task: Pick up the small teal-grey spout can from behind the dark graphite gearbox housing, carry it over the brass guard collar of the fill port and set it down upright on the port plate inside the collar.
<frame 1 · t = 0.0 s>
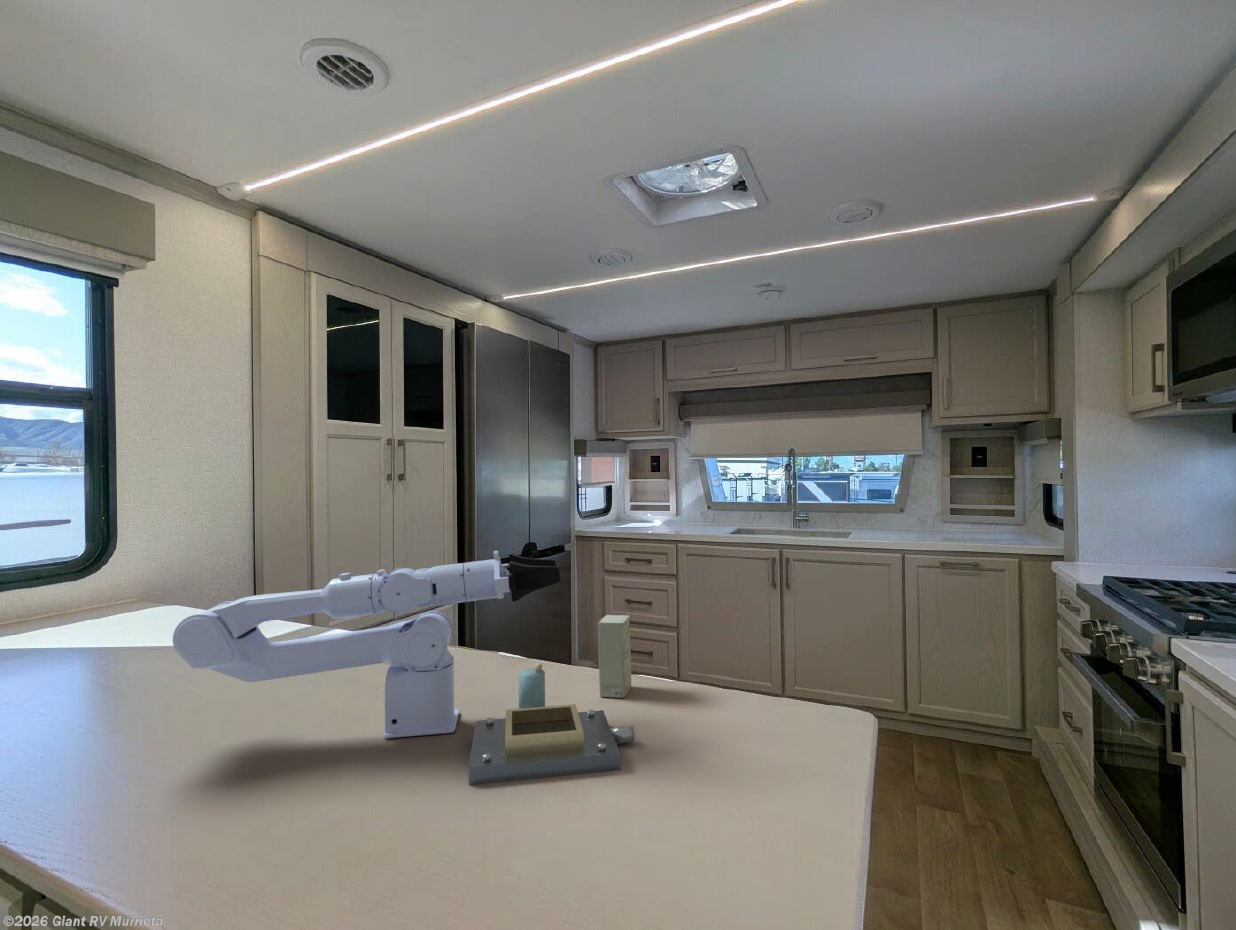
hand: (557, 570, 92), 22 cm above the counter, tool horizontal, fingers open, 7 cm apart
spout can: (532, 711, 93), on the counter
gearbox housing: (543, 751, 79), on the counter
skincare box: (615, 692, 101), on the counter
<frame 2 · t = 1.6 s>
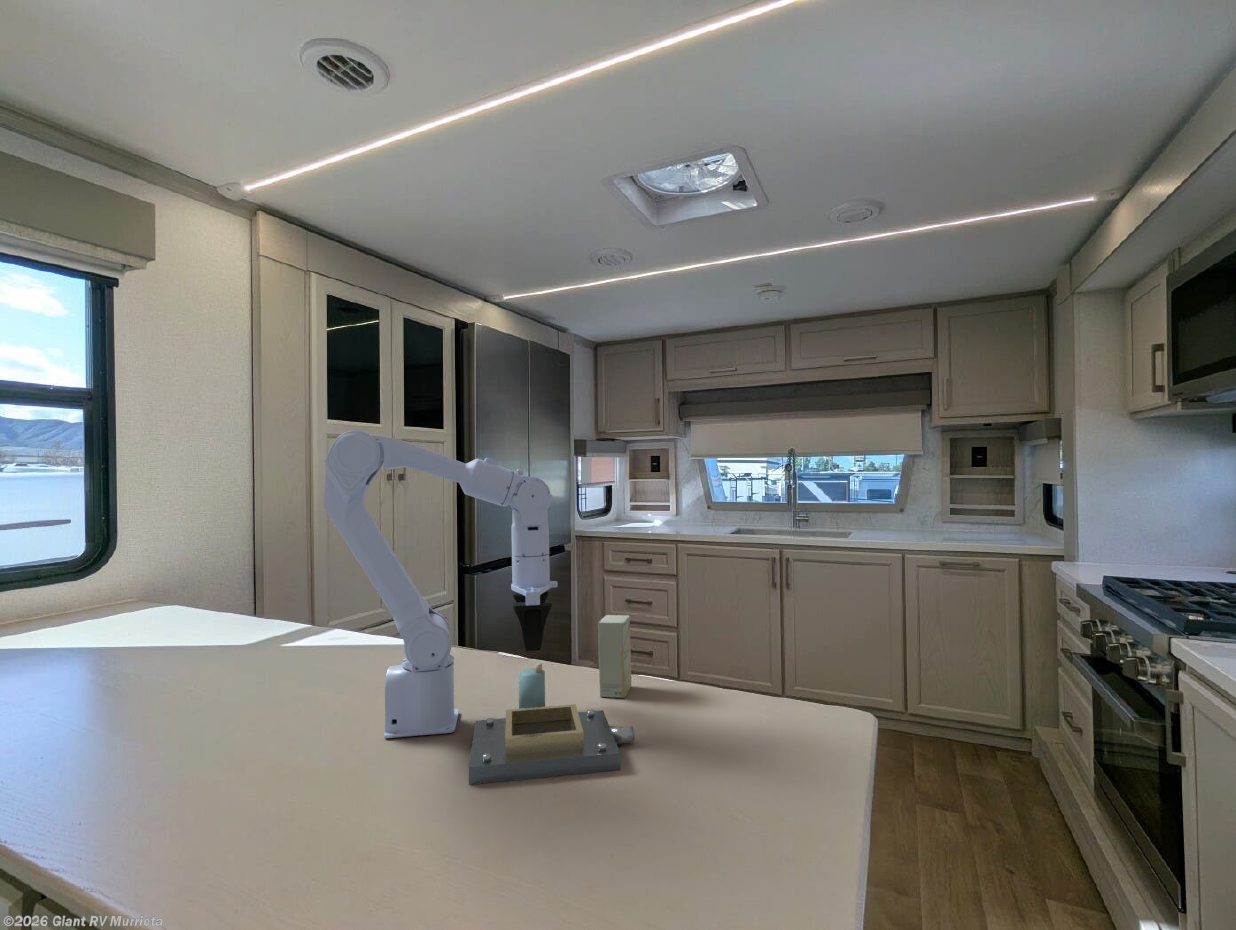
hand: (532, 643, 93), 10 cm above the counter, tool pointing down, fingers open, 7 cm apart
nothing on the counter moved.
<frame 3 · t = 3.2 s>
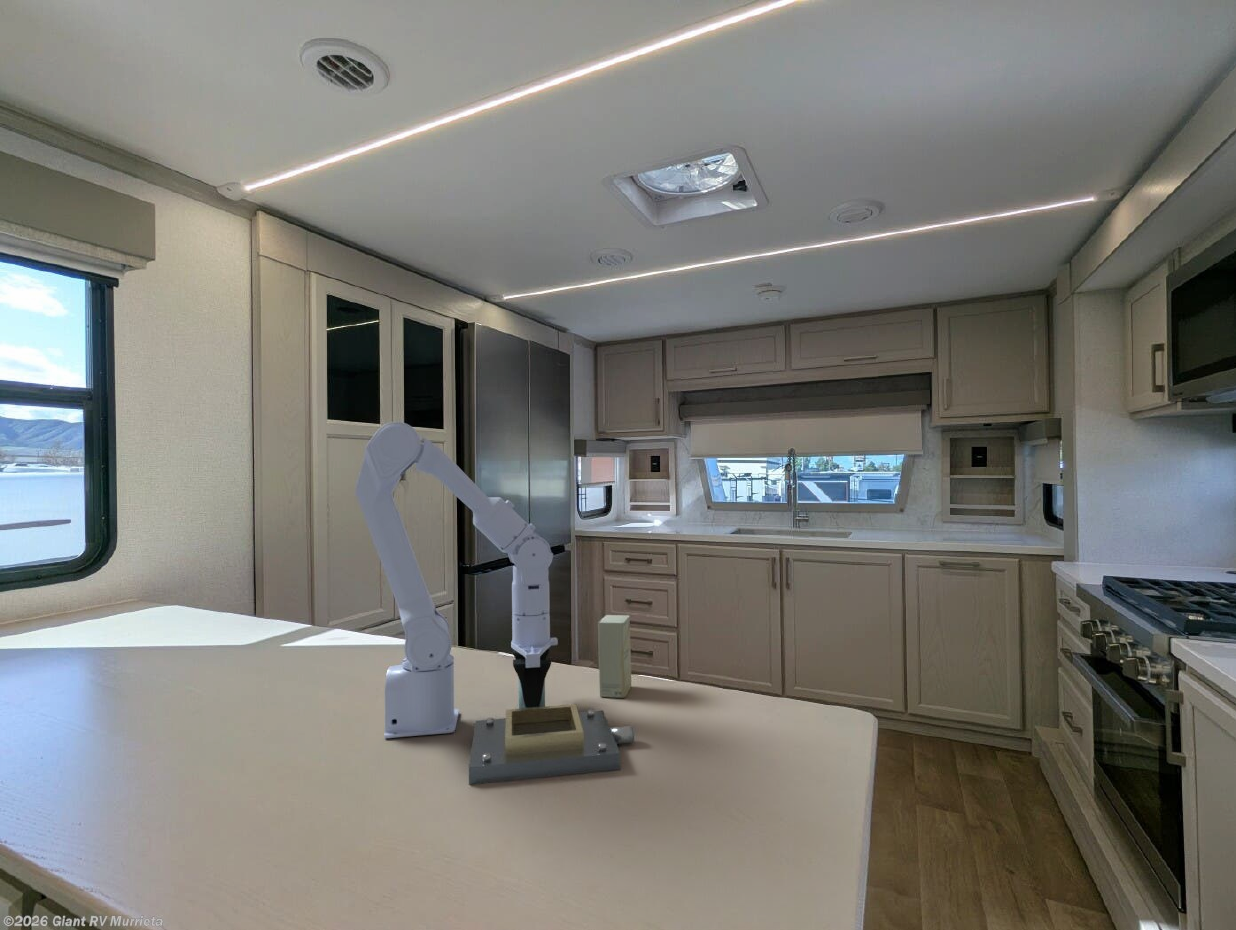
hand: (532, 701, 93), 2 cm above the counter, tool pointing down, fingers closed on spout can, 4 cm apart
spout can: (532, 711, 93), on the counter, touching gripper
everything else where it was.
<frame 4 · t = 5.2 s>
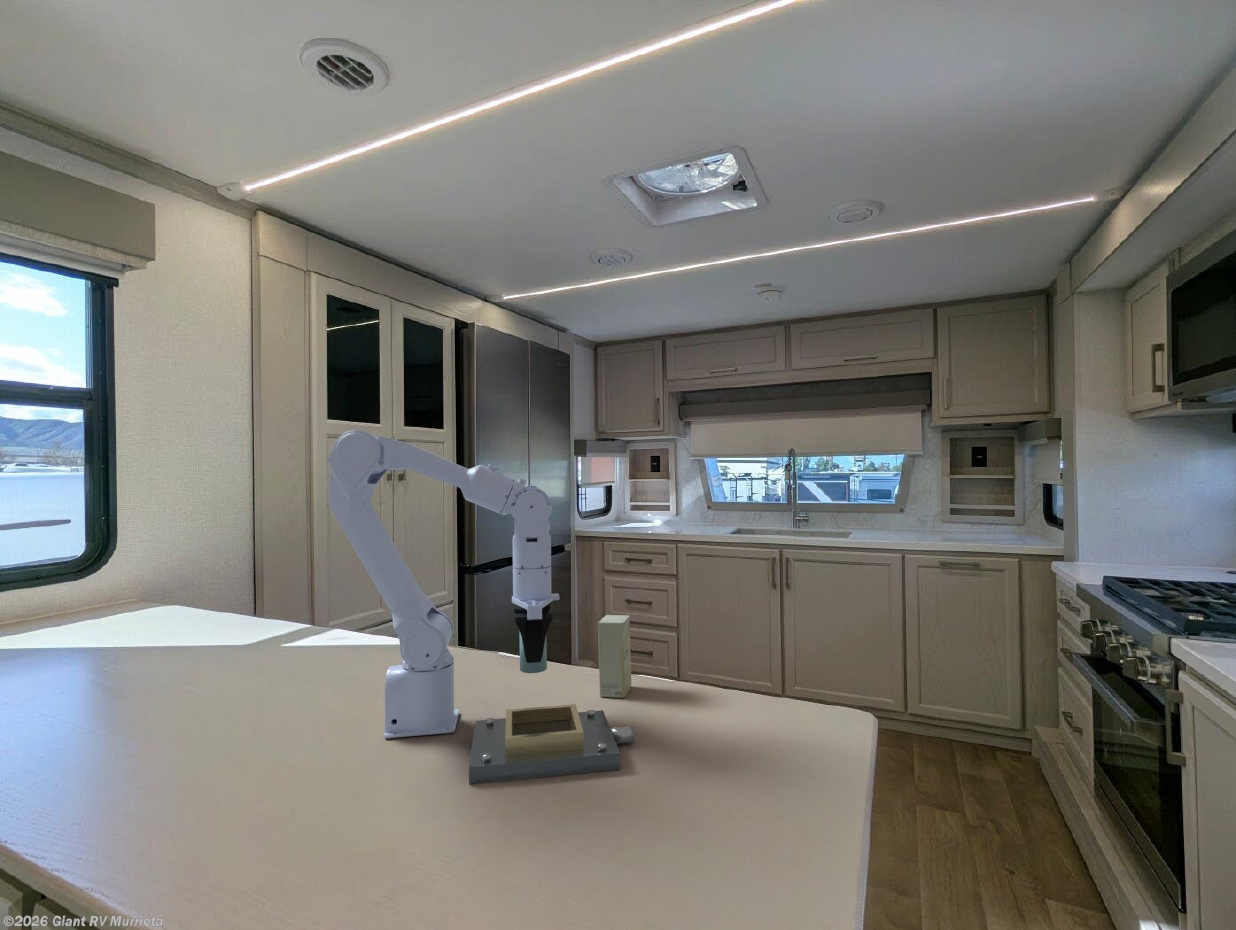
hand: (533, 657, 91), 9 cm above the counter, tool pointing down, fingers closed on spout can, 4 cm apart
spout can: (533, 668, 91), point 7 cm above the counter, touching gripper
everything else where it was.
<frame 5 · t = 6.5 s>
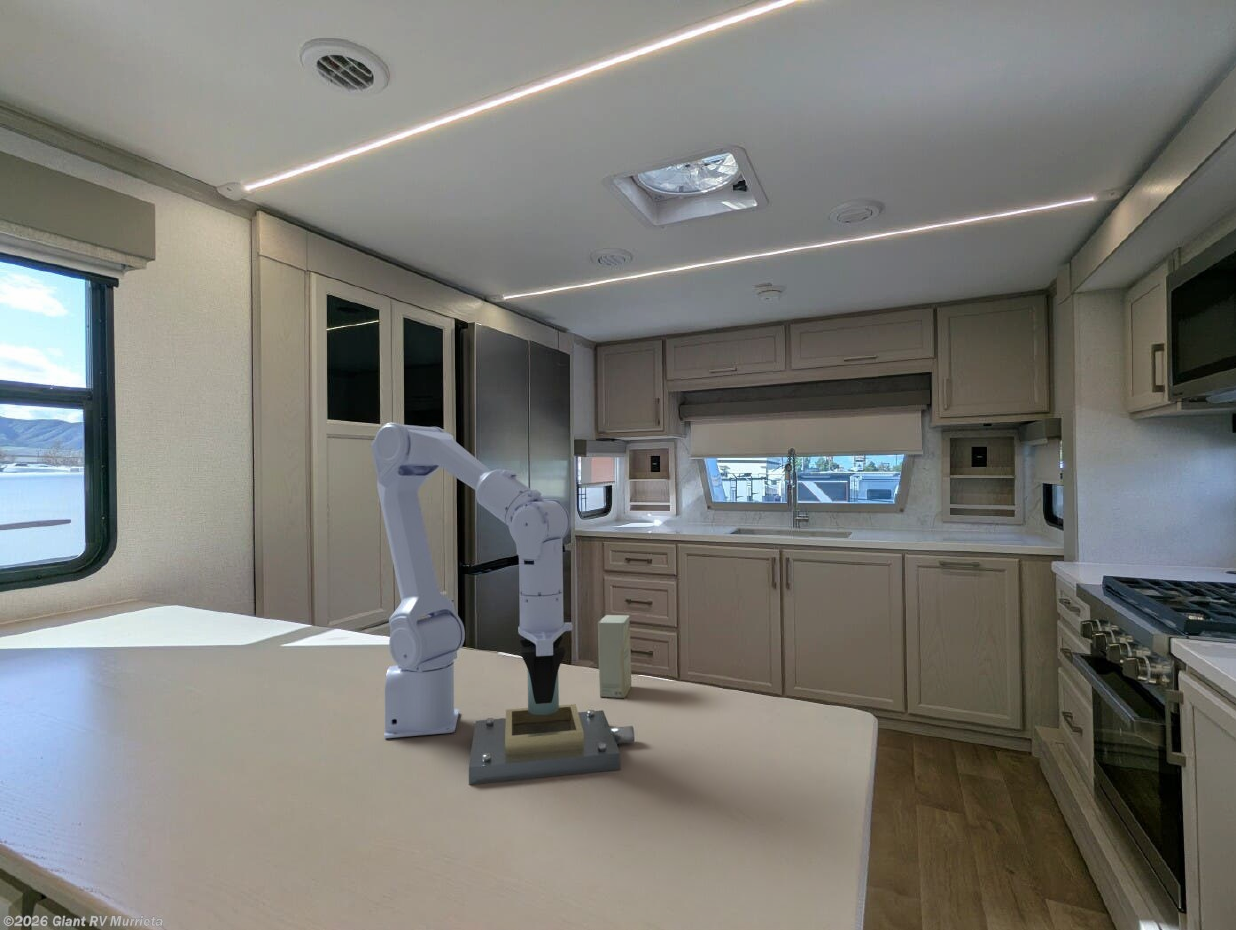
hand: (542, 696, 80), 7 cm above the counter, tool pointing down, fingers closed on spout can, 4 cm apart
spout can: (543, 709, 80), point 5 cm above the counter, touching gripper
everything else where it was.
when the fingers open (5 cm above the counter, at t = 7.3 s): spout can drops 1 cm, resting on gearbox housing.
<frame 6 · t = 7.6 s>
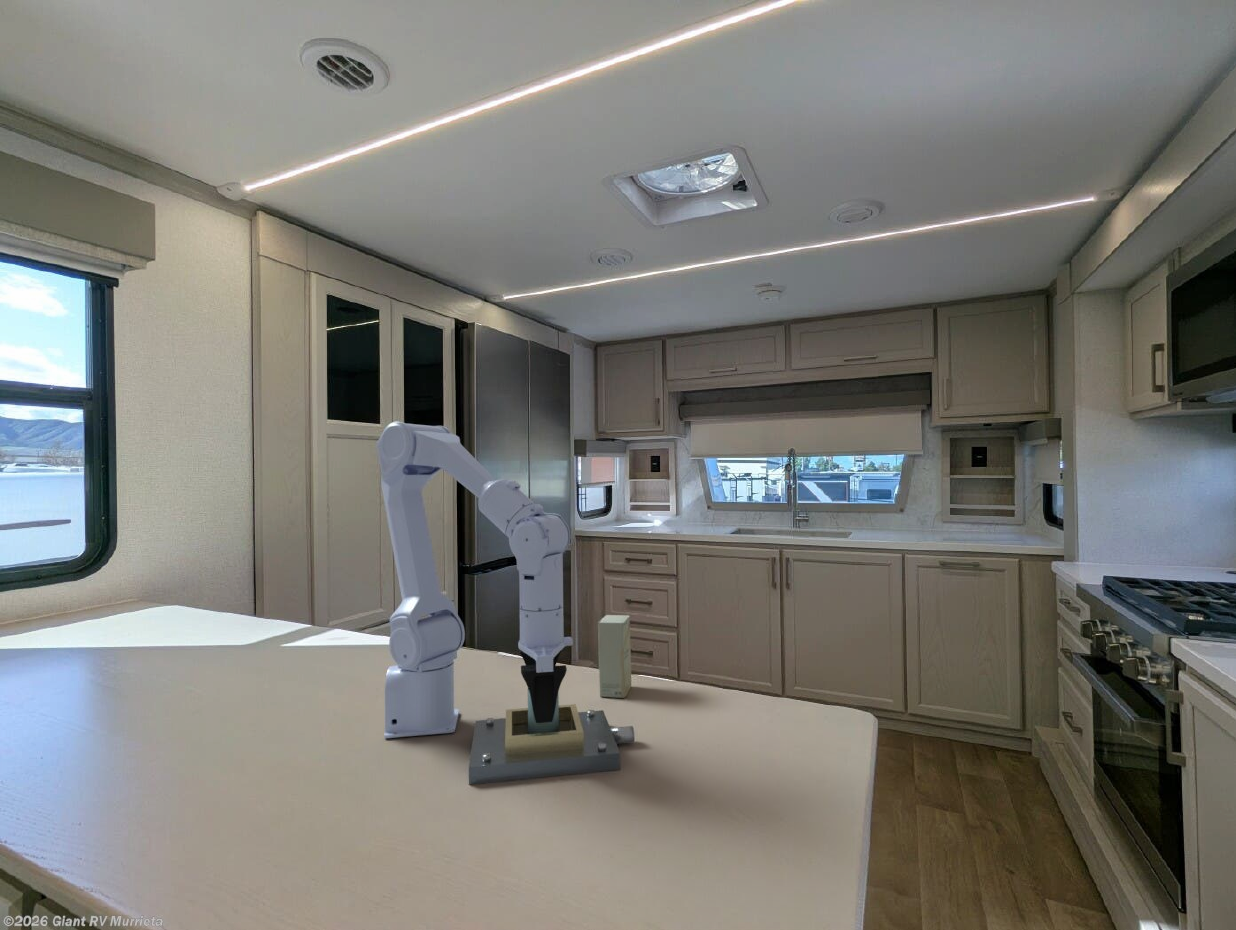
hand: (542, 711, 79), 5 cm above the counter, tool pointing down, fingers open, 6 cm apart
spout can: (543, 734, 79), point 2 cm above the counter, touching gearbox housing
everything else where it was.
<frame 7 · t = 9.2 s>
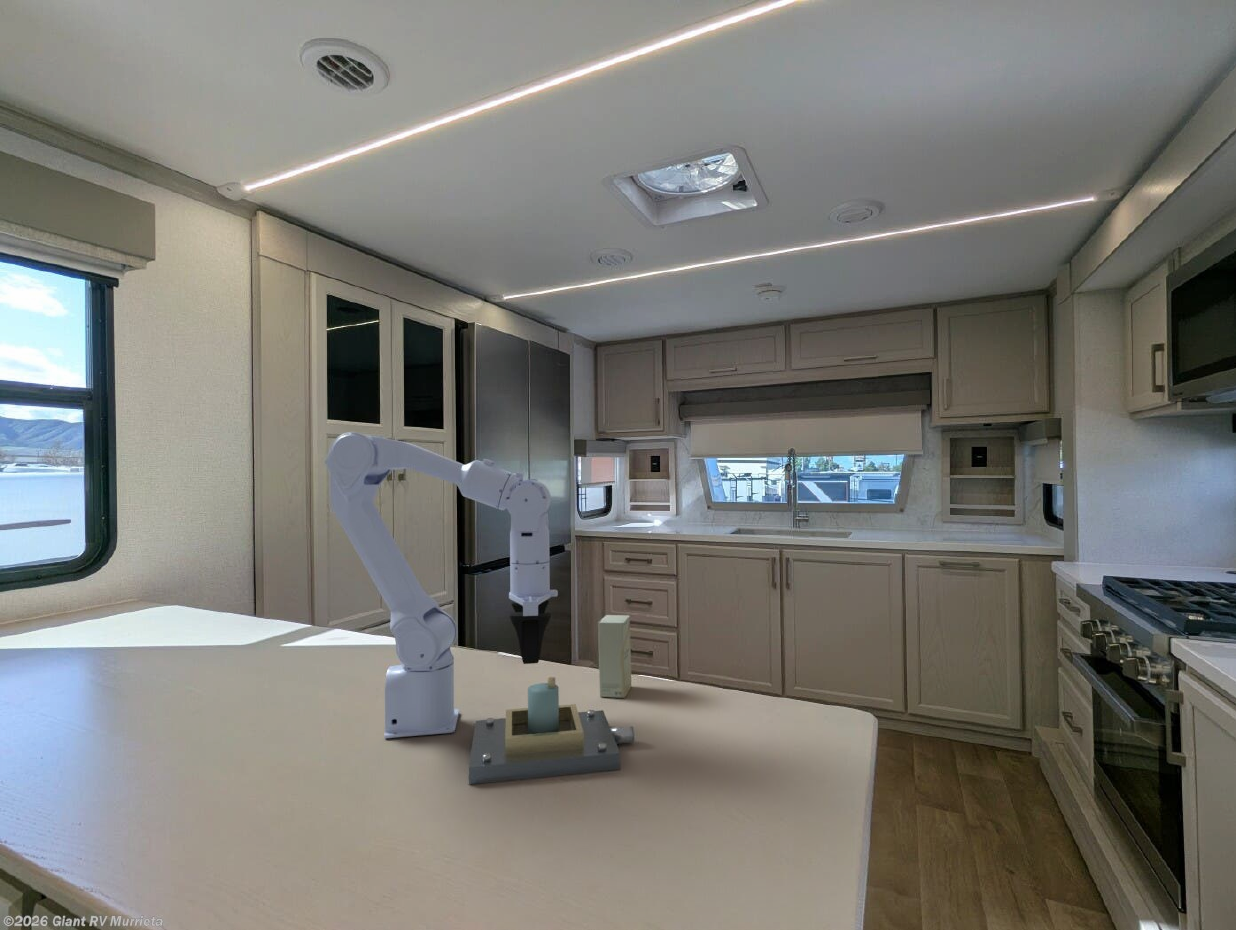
hand: (530, 655, 89), 10 cm above the counter, tool pointing down, fingers open, 7 cm apart
nothing on the counter moved.
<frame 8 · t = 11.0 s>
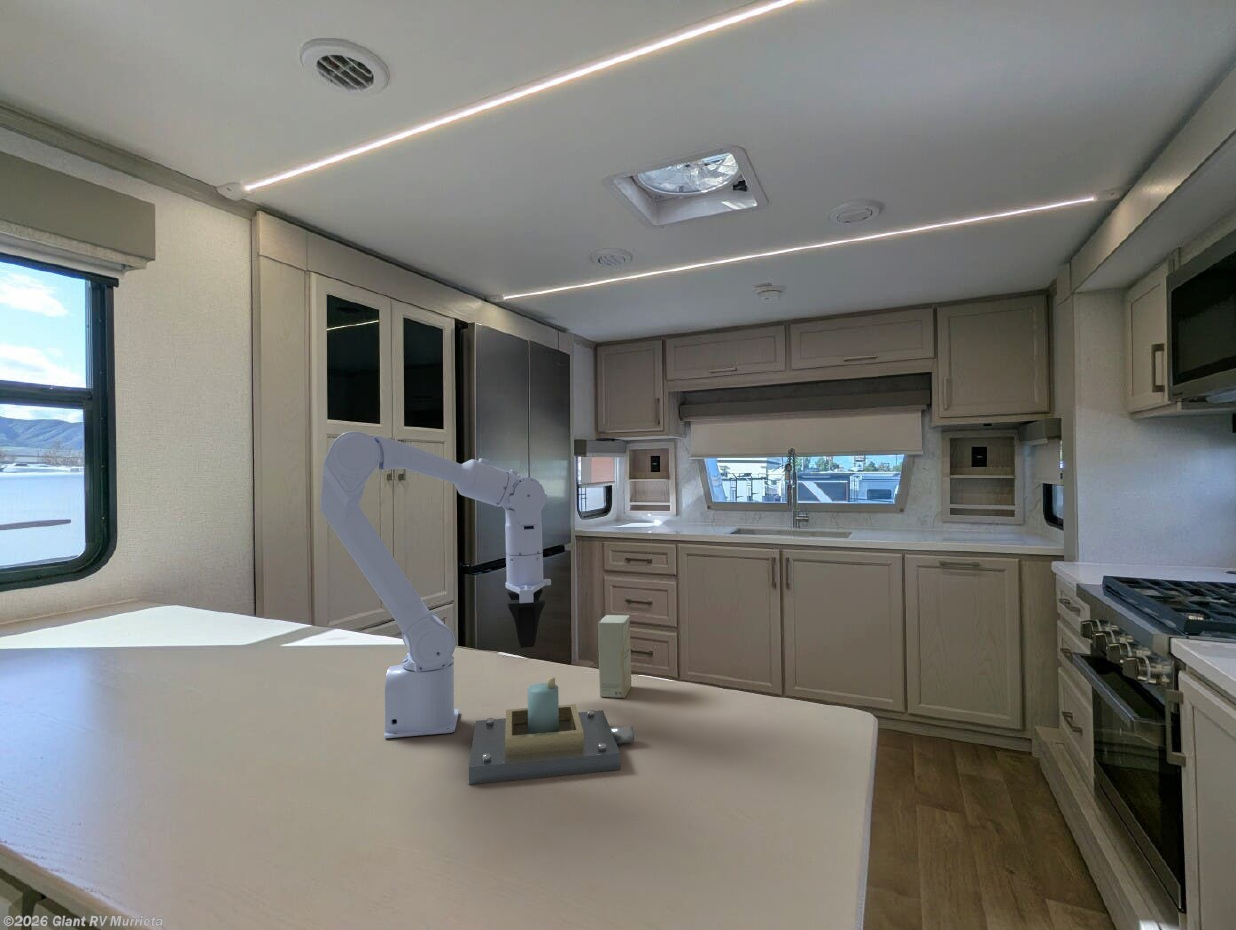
hand: (526, 640, 95), 10 cm above the counter, tool pointing down, fingers open, 7 cm apart
nothing on the counter moved.
at the end: spout can 0.1 cm off-centre on the gearbox housing, point 2.2 cm above the gearbox housing's base; spout can tilted 0°; the gripper is holding nothing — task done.
